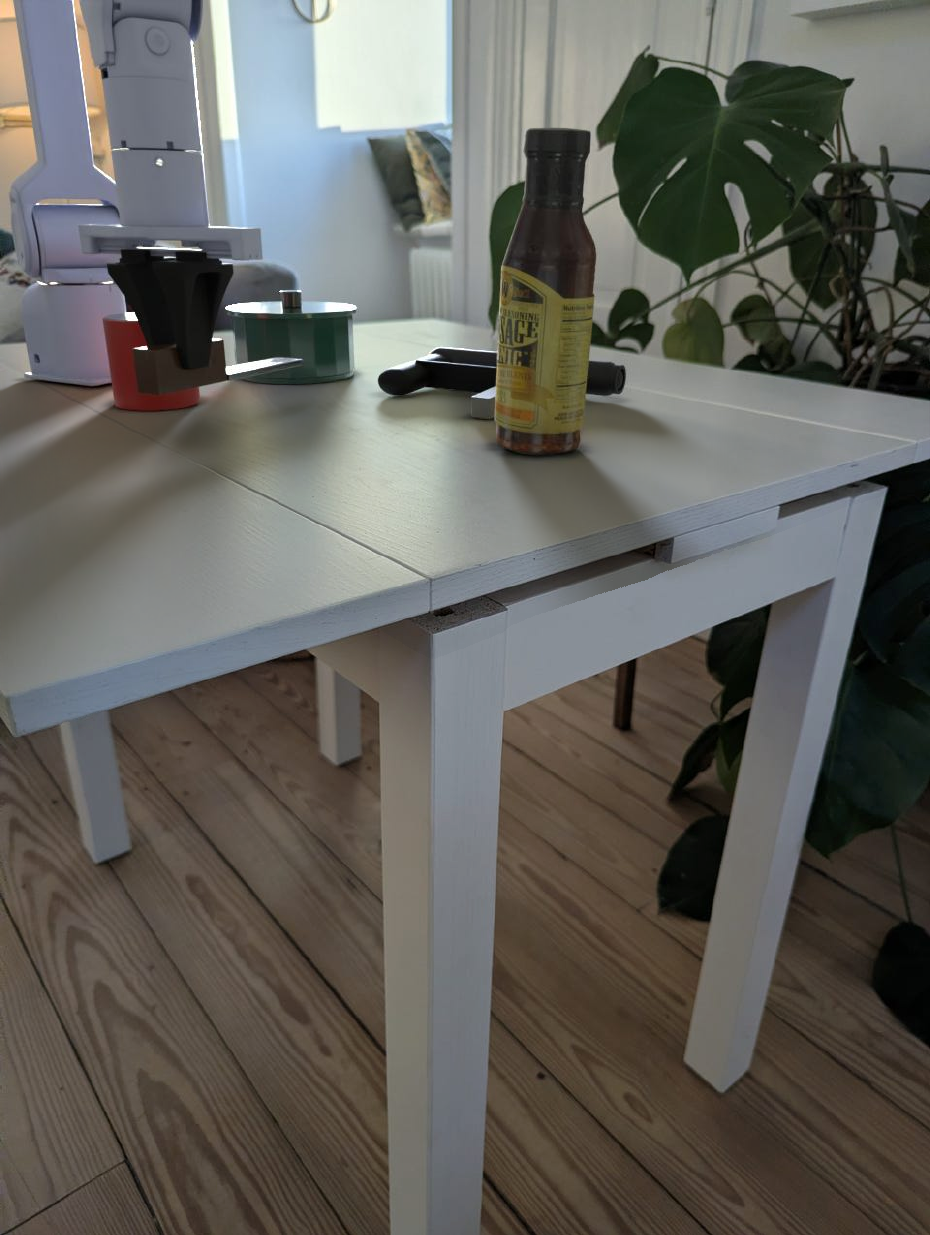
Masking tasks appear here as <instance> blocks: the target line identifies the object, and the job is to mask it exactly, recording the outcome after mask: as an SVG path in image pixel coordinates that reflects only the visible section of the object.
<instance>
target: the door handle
mask: <svg viewBox="0 0 930 1235" xmlns="http://www.w3.org/2000/svg"><path fill="white" fill-rule="evenodd" d="M496 375H497V351H492V350H480V349H471V348H470V349H468V348H457V347H447V346H438V347H435V348H433V349H432V350H431V351H430V352H429V353H428V355H426V356H423V357H420V358H417V359H413V360H410V361H408V362H405V363H402V364H398V365H396V366H393V367H390V368H387V369H385V370H383V371H381V373H380V374H379V375H378V377H377V385H378V387H379V388H380V390H381V391H382V392H384V393H386V394H387V395H391V396H394V397H400V396H401V397H402V396H406V395H409V394H411V393H413V392H417V391H419V390H421V389H424V388H429V389H439V390H447V391H448V390H449V391H457V392H468V393H476V394H475V395H472V396H471V418H476V419H484V420H491V419H495V395H496ZM626 380H627V369H626V366H625V365H624V364H617V363H615V362H613V361H608V360H607V361H606V360H596V359H589V365H588V376H587V387H586V395H591V396H601V397H609V396H612V395H621V394H622V392H623V391H624V389H625V386H626Z"/></svg>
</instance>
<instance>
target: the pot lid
mask: <svg viewBox="0 0 930 1235" xmlns="http://www.w3.org/2000/svg"><path fill="white" fill-rule="evenodd" d="M279 292H280V301H260V302H259V301H258V302H245V303H237V304H232V305H228V306H226V307H225V312H226V314H227V315H229V316H231V315H232V316H237V317H246V318H261V319H313V318H330V317H340V316H347V315H352V316H353V315H354V314H356V313H357V306H356V305H353V304H348V303H343V302H330V301H307V300H306V301H305V300H304V301H303V299H302V291H301V290H300V289H299V290H298V289H296V290H295V289H285V290H283V289H282V290H280V291H279Z"/></svg>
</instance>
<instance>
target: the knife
mask: <svg viewBox="0 0 930 1235" xmlns="http://www.w3.org/2000/svg"><path fill="white" fill-rule="evenodd" d="M132 351H133V359H134V366H135V374H136V381H137V389H138V393H143V394H151V395H164V394H169V393H173V392H178V391H182V390H187V389H192V388H196V387H199V388H200V387H206V386H209V385H214V384H219V383H224V382H226V381H227V382H231V381H236V380H242V379H241V378H246V377H250V376H255V375H259V374H264V373H268V372H273V371H278V370H282V369H287V368H291V367H296V366H300V365H303V362H302V359H297V358H287V357H276V358H271V359H266V360H261V361H256V362H251V363H246V364H241V365H236V364H235V365H232V366H227V362H226V351H225V341H224V339H222V338H214V337H213V339H212V345H211V353H210V360H209V367H203V368H198V369H193V370H184V369H182V366H181V363H180V359H179V356H178V352H177V347H176V342H171V343H165V344H158V345H152V346H145V347H139V348H133V349H132Z"/></svg>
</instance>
